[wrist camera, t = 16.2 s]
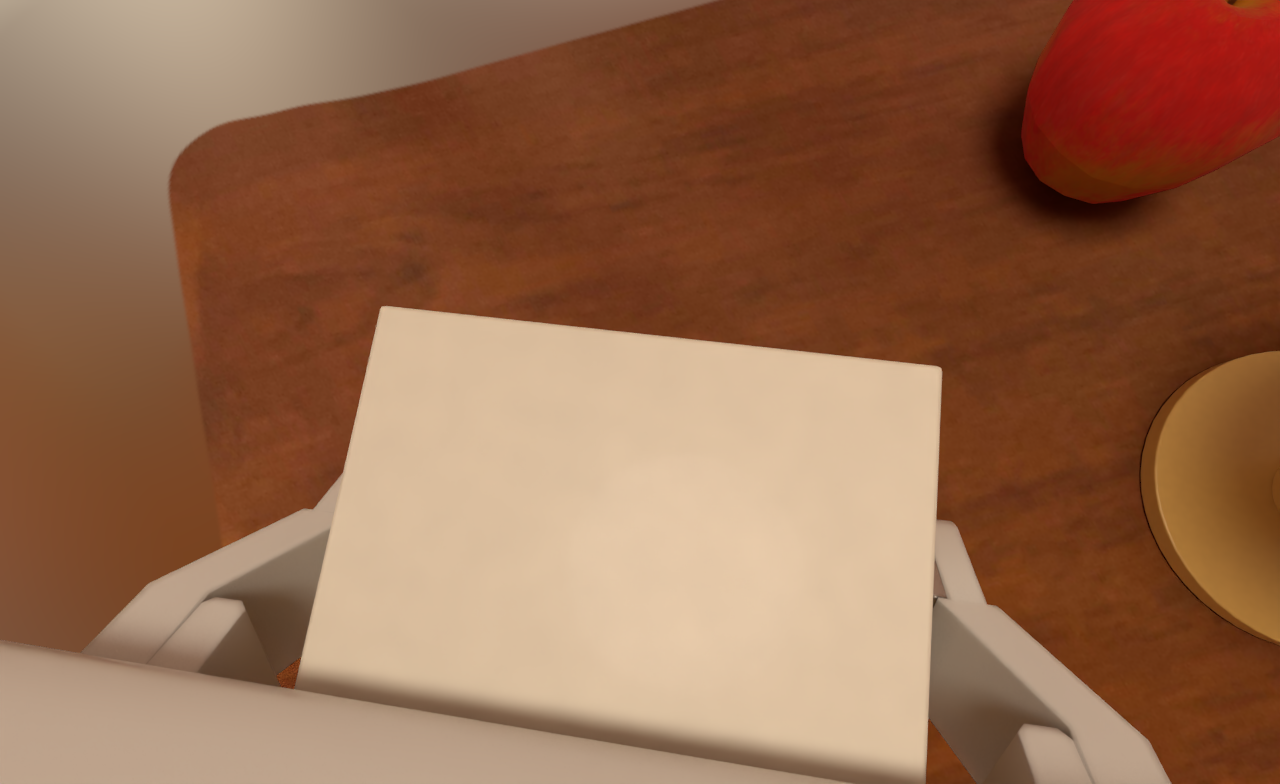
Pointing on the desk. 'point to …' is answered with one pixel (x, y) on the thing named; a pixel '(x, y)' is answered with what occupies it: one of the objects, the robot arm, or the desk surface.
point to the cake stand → (1221, 489)
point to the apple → (1151, 94)
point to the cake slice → (638, 543)
